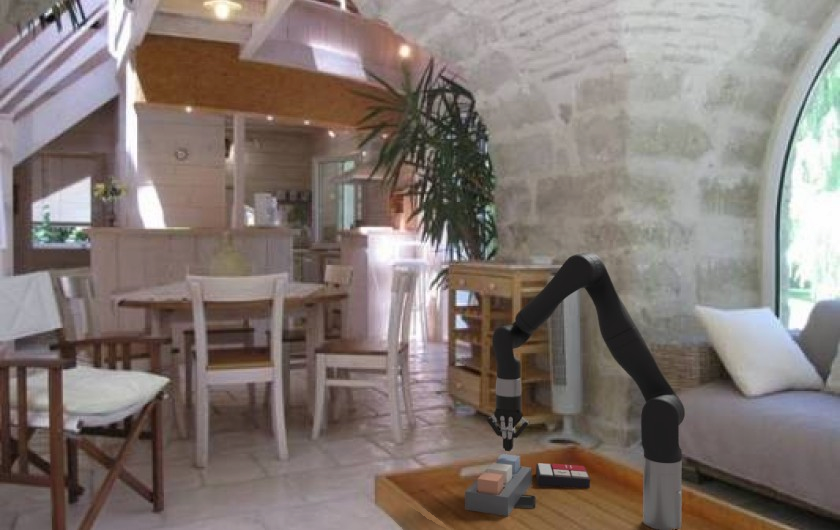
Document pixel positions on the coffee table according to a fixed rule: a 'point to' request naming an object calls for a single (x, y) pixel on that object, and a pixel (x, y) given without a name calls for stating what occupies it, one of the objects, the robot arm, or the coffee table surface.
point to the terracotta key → (490, 483)
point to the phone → (526, 501)
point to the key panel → (505, 499)
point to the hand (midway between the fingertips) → (508, 450)
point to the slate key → (510, 461)
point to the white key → (502, 471)
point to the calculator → (562, 476)
